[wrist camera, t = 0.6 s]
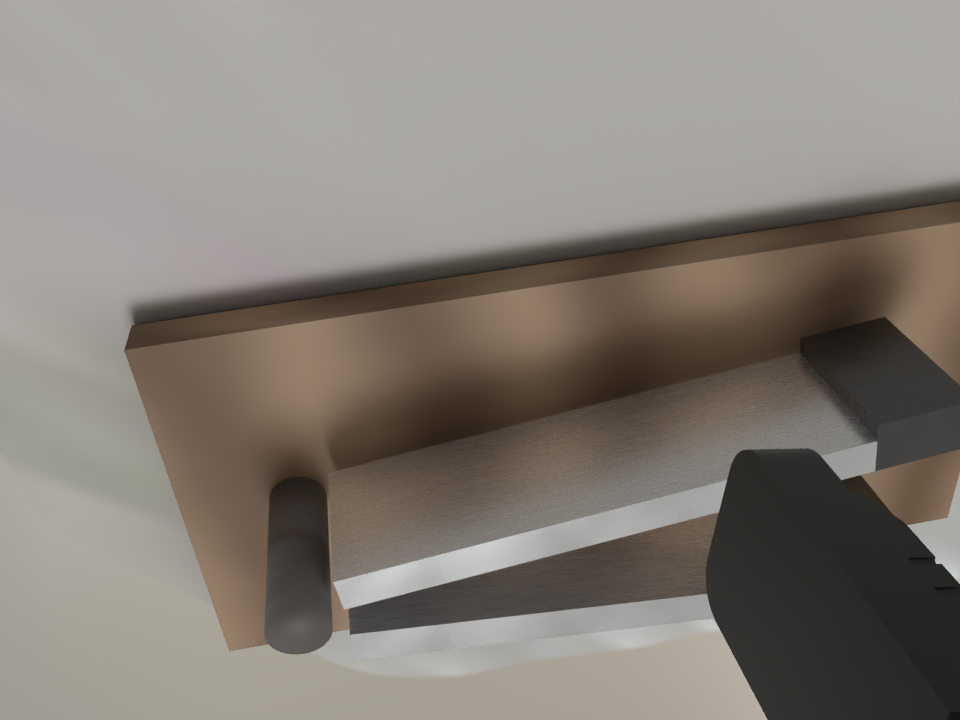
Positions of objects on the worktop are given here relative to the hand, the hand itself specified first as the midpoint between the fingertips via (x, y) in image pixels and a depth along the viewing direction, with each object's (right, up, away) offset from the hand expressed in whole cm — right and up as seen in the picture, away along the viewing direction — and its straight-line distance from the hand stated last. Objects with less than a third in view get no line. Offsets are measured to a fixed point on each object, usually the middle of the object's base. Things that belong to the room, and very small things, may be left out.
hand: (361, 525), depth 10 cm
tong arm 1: (+6, -4, +24) cm, 25 cm away
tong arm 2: (+6, 0, +22) cm, 22 cm away
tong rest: (+5, -1, +25) cm, 26 cm away
